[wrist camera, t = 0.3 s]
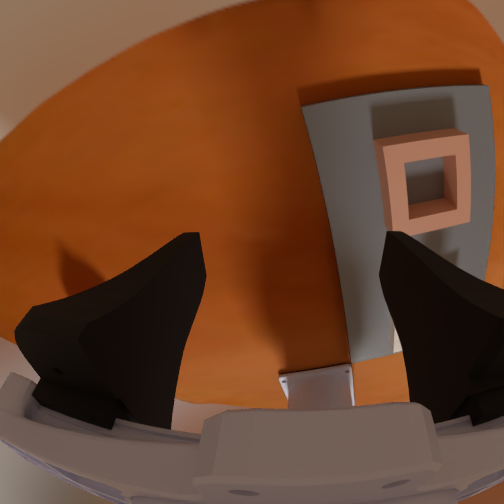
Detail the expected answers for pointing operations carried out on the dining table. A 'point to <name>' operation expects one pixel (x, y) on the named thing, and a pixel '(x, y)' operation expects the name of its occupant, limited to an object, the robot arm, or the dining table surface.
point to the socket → (455, 180)
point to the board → (418, 190)
